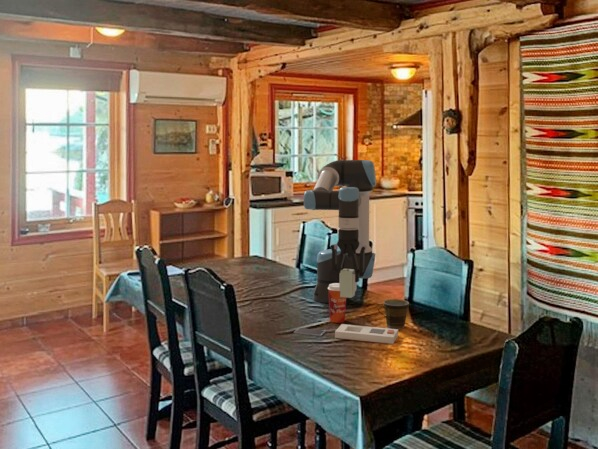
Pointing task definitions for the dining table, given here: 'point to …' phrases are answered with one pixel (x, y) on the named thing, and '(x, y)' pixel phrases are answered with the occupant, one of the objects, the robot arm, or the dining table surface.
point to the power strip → (366, 333)
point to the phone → (309, 331)
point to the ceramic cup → (395, 313)
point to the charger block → (346, 283)
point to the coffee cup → (336, 304)
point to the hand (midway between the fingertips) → (347, 289)
